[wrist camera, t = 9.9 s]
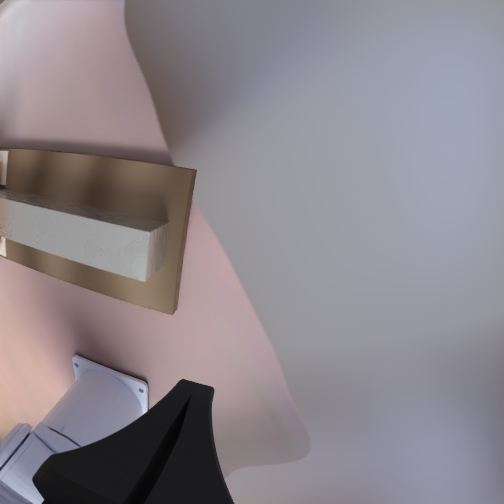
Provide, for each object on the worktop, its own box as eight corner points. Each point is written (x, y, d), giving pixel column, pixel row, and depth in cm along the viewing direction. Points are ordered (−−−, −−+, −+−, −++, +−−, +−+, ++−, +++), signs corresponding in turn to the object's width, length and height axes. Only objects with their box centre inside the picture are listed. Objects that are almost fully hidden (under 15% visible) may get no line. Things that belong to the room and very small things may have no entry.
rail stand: (196, 169, 19) (175, 171, 15) (176, 309, 22) (156, 336, 18) (-27, 146, 21) (-55, 149, 17) (-29, 238, 23) (-54, 247, 20)
